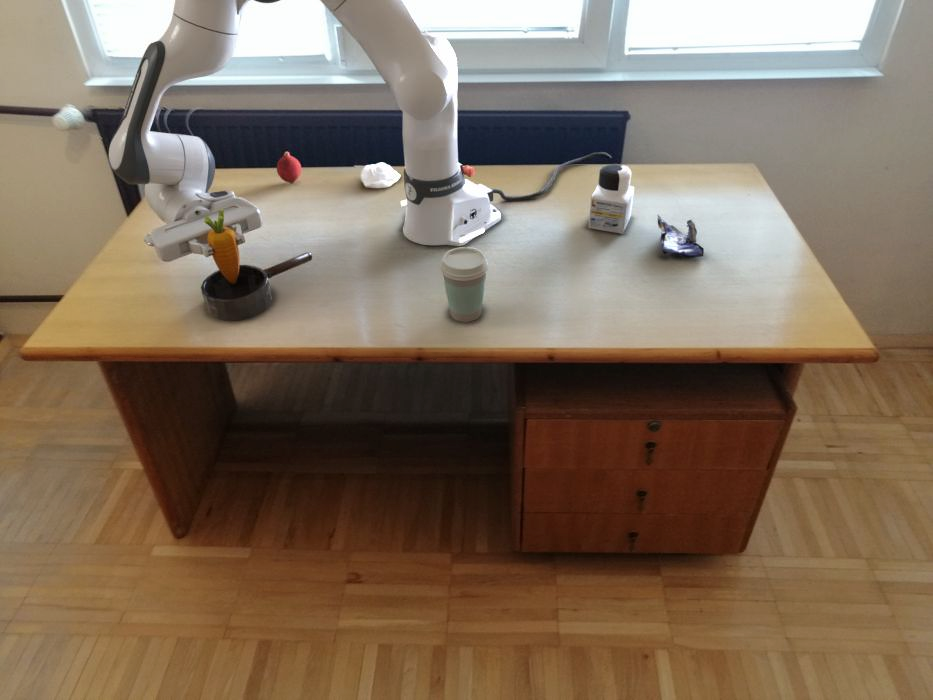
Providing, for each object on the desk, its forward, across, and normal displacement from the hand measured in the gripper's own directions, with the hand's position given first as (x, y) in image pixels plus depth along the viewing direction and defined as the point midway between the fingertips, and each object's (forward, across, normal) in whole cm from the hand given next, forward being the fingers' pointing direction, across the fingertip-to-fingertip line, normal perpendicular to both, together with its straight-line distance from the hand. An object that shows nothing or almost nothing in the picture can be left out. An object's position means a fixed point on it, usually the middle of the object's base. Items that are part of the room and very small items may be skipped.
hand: (225, 246), depth 130 cm
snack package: (+43, +78, +13) cm, 90 cm away
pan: (-1, 0, +13) cm, 13 cm away
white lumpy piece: (-25, +50, +13) cm, 57 cm away
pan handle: (-1, +11, +10) cm, 15 cm away
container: (+27, +75, +13) cm, 81 cm away
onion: (-39, +33, +13) cm, 53 cm away
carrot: (-1, 0, +9) cm, 9 cm away
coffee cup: (+31, +30, +13) cm, 45 cm away
